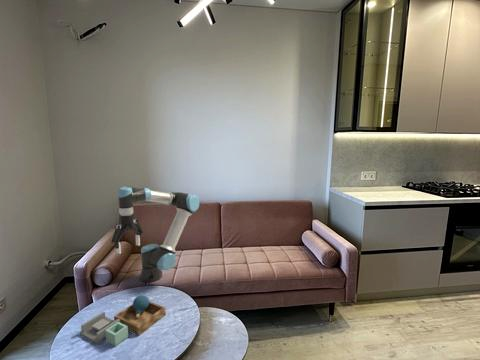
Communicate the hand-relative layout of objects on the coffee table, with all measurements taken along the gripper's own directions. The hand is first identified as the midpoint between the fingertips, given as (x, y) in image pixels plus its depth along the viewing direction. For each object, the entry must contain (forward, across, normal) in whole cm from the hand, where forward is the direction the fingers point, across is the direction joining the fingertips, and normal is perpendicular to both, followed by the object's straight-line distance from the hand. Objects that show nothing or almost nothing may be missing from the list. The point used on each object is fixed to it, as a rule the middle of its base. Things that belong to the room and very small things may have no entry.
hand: (128, 249), depth 162 cm
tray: (+32, +11, +20) cm, 39 cm away
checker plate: (+29, +27, +10) cm, 41 cm away
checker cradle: (+32, +27, +10) cm, 43 cm away
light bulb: (+30, +13, +19) cm, 38 cm away
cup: (+32, +27, +22) cm, 47 cm away
